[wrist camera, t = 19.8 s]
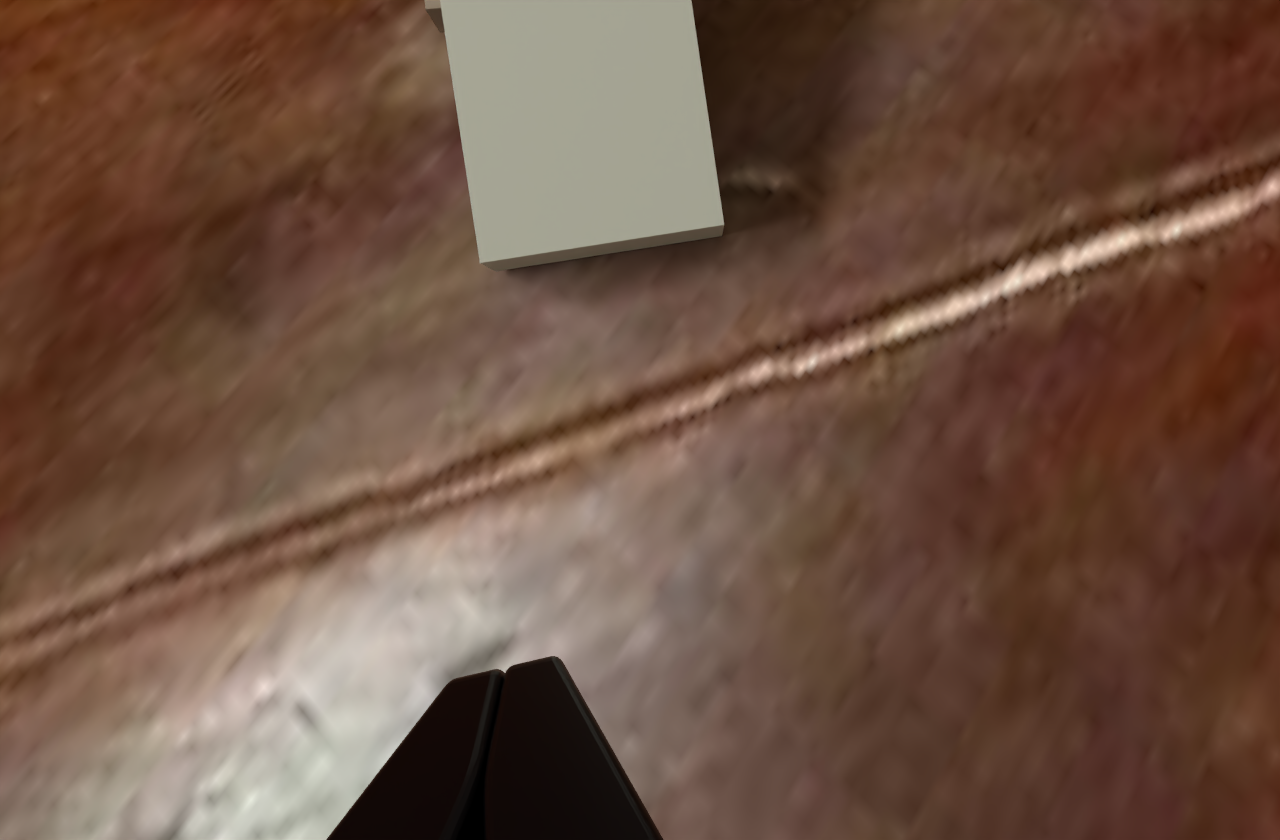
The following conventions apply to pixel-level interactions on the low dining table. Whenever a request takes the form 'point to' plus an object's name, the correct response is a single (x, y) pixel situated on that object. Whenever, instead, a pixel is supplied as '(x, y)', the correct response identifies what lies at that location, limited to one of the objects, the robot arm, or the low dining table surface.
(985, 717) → the low dining table surface
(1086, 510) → the low dining table surface
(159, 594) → the low dining table surface
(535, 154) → the sage domino
